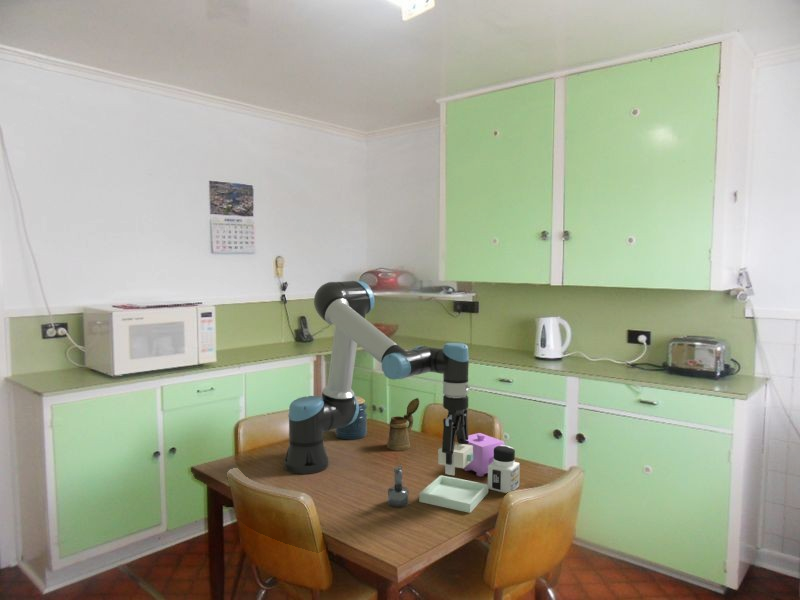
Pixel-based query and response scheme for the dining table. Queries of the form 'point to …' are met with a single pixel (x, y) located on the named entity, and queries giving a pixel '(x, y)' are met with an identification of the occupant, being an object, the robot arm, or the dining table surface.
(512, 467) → the container
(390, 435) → the wooden mug
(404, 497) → the dark grey stemmed piece
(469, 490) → the tray
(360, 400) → the canister
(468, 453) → the cream square-holed block
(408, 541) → the dining table surface
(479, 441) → the teapot
